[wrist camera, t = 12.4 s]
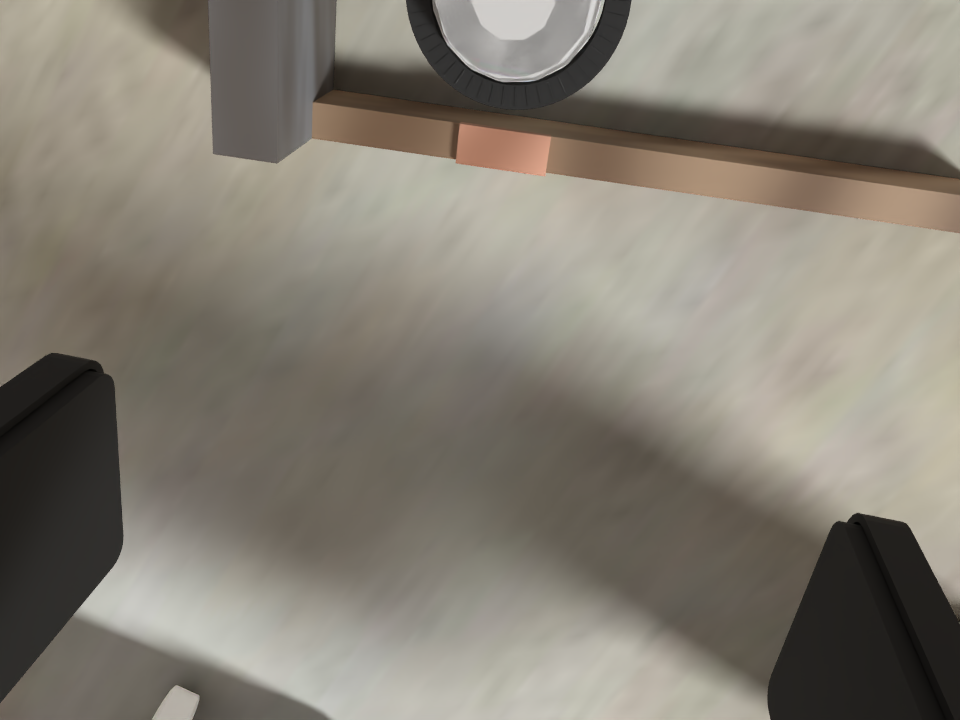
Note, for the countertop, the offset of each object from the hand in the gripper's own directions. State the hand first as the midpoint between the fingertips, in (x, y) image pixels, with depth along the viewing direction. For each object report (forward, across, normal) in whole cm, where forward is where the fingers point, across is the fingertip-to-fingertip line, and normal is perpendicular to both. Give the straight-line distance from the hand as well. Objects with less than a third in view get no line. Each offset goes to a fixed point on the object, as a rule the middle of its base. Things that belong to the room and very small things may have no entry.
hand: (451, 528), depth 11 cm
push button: (+22, +2, -7) cm, 23 cm away
